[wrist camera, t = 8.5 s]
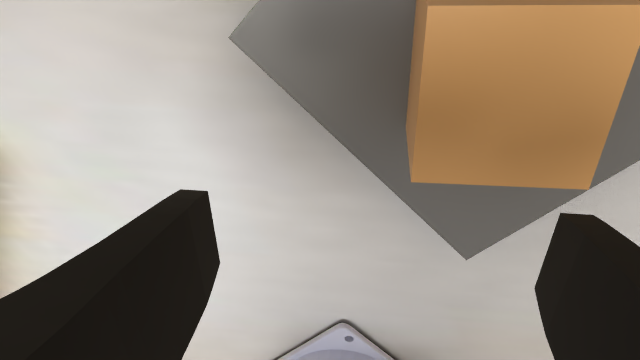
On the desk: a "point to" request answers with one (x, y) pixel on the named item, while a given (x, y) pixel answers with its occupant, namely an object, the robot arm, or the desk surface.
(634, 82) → the plate
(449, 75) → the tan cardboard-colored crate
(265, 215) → the desk surface
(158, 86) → the desk surface
